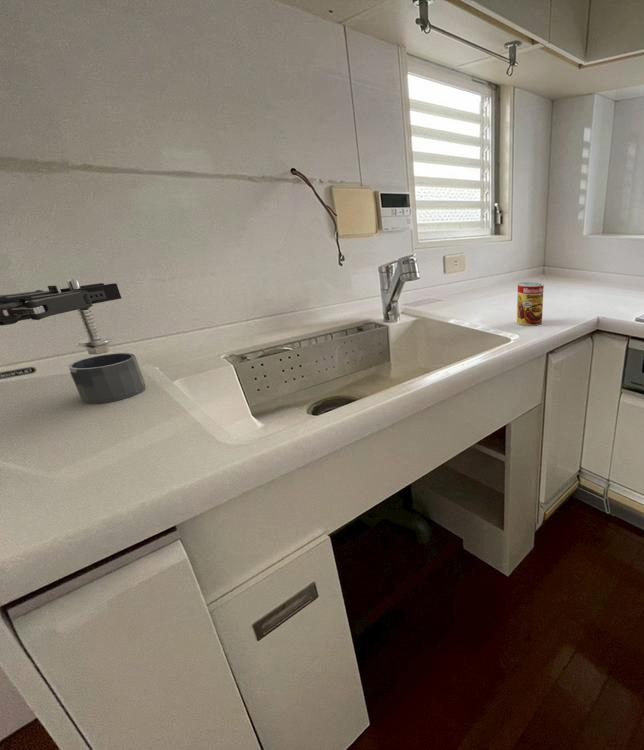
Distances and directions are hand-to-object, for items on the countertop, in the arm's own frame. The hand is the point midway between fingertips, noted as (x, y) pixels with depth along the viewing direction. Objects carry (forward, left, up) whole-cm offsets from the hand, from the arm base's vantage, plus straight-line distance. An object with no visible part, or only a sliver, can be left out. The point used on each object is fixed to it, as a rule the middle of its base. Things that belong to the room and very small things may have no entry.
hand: (110, 290), depth 73 cm
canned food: (+64, +70, -18) cm, 96 cm away
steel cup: (+1, -5, -18) cm, 19 cm away
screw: (+1, -5, -10) cm, 12 cm away
